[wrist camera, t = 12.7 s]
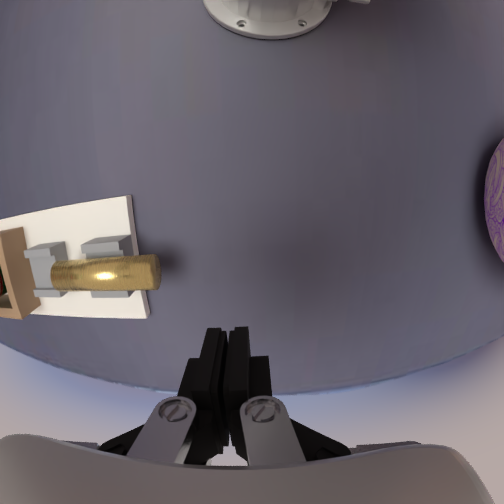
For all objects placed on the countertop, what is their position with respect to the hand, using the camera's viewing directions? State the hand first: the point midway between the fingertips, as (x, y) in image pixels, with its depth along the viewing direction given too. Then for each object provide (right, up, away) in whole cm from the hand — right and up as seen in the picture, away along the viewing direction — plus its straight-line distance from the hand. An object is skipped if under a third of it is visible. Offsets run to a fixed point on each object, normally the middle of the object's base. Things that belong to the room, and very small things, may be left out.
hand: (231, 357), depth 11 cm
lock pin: (-12, +3, +12) cm, 17 cm away
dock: (-23, +3, +15) cm, 28 cm away
